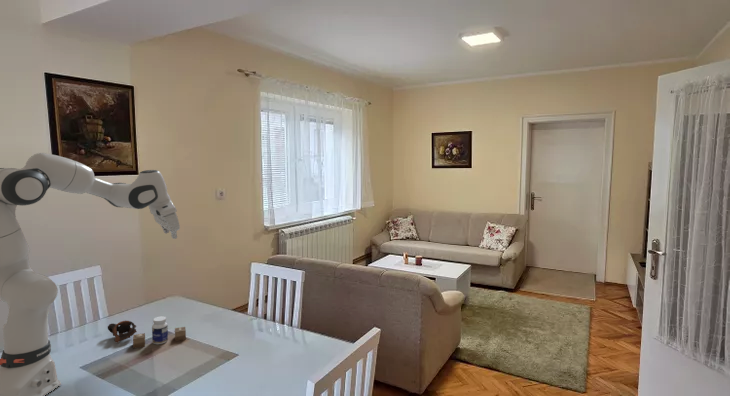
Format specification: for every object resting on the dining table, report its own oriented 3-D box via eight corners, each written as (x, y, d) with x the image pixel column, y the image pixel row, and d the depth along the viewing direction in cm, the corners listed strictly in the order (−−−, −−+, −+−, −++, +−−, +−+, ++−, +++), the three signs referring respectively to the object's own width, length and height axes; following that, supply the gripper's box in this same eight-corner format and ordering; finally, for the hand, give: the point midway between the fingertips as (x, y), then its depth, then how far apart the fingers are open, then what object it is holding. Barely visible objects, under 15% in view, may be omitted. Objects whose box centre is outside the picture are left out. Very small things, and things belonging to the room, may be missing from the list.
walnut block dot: (144, 346, 160) (144, 336, 160) (133, 348, 159) (132, 338, 158) (145, 342, 164) (144, 332, 163) (134, 344, 162) (133, 334, 162)
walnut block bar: (185, 339, 167) (185, 329, 167) (175, 341, 166) (175, 331, 165) (185, 335, 171) (185, 326, 170) (175, 337, 169) (174, 327, 169)
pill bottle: (149, 343, 163) (148, 320, 162) (160, 337, 168) (159, 314, 167) (160, 345, 161) (159, 322, 160) (171, 339, 167) (170, 316, 166)
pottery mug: (142, 333, 173) (141, 321, 169) (129, 351, 165) (128, 339, 161) (114, 326, 172) (112, 313, 168) (99, 344, 164) (98, 332, 160)
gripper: (145, 204, 173) (155, 232, 179) (161, 214, 159) (172, 244, 165) (160, 199, 177) (169, 226, 183) (177, 208, 163) (187, 238, 169)
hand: (170, 235), depth 173 cm, fingers open, 8 cm apart
